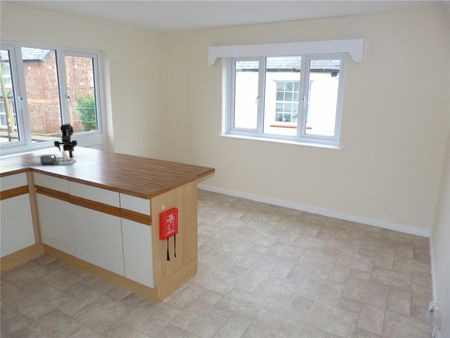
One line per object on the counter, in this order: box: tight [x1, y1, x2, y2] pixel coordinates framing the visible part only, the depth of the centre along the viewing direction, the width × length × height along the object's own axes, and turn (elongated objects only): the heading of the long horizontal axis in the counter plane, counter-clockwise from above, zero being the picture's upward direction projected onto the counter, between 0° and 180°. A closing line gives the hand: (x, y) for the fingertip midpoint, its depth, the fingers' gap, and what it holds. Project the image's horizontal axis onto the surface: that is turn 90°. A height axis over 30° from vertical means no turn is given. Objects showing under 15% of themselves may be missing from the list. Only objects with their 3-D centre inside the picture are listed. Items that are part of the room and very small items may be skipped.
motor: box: [40, 154, 77, 167], centre depth 295 cm, size 12×26×8 cm, turn 98°
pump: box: [61, 151, 71, 162], centre depth 295 cm, size 6×6×10 cm
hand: (65, 151), depth 302 cm, fingers open, 9 cm apart
